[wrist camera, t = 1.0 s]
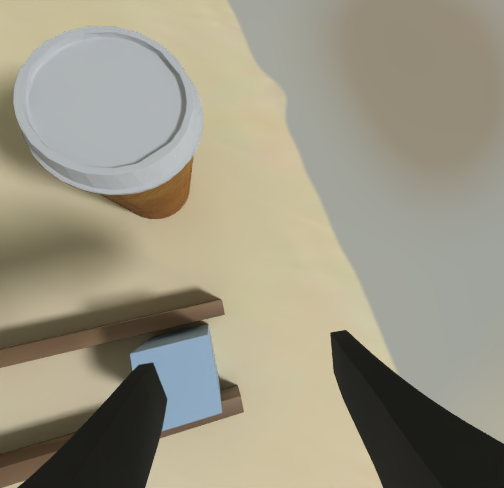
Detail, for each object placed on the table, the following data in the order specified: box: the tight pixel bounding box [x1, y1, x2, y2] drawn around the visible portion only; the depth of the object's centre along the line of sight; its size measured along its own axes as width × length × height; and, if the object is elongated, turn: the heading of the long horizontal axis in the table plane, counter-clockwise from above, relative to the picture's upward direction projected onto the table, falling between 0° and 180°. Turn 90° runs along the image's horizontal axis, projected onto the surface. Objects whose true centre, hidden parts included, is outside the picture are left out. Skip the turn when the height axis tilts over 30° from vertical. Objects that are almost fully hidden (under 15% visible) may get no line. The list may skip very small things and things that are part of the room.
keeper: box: [130, 324, 222, 431], centre depth 20 cm, size 5×5×6 cm
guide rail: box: [0, 299, 244, 488], centre depth 19 cm, size 9×25×4 cm, turn 102°
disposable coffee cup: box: [13, 26, 203, 219], centre depth 19 cm, size 10×10×12 cm
